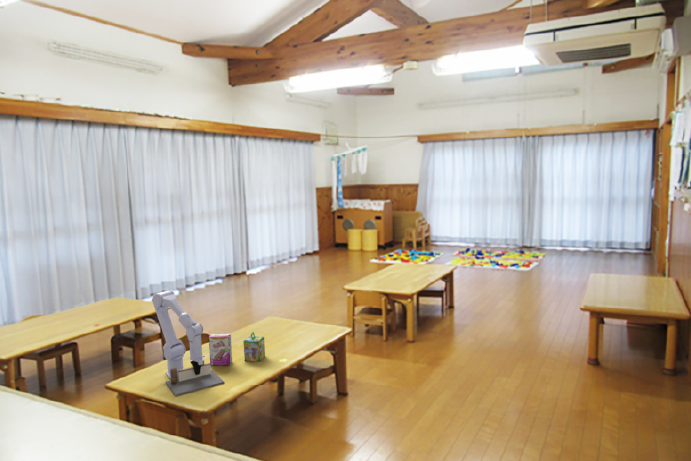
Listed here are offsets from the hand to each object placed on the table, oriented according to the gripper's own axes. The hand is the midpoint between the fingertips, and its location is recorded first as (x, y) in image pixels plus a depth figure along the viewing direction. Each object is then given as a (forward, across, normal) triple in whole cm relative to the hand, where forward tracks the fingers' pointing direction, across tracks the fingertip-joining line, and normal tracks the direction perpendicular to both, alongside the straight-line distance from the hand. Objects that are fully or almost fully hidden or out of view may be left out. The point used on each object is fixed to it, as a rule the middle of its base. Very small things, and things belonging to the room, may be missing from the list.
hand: (197, 374), depth 238 cm
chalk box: (+3, +10, -35) cm, 36 cm away
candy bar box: (+3, +14, -17) cm, 22 cm away
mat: (+3, -3, +2) cm, 5 cm away
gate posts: (+3, +2, +4) cm, 5 cm away
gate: (+2, +2, +1) cm, 3 cm away
